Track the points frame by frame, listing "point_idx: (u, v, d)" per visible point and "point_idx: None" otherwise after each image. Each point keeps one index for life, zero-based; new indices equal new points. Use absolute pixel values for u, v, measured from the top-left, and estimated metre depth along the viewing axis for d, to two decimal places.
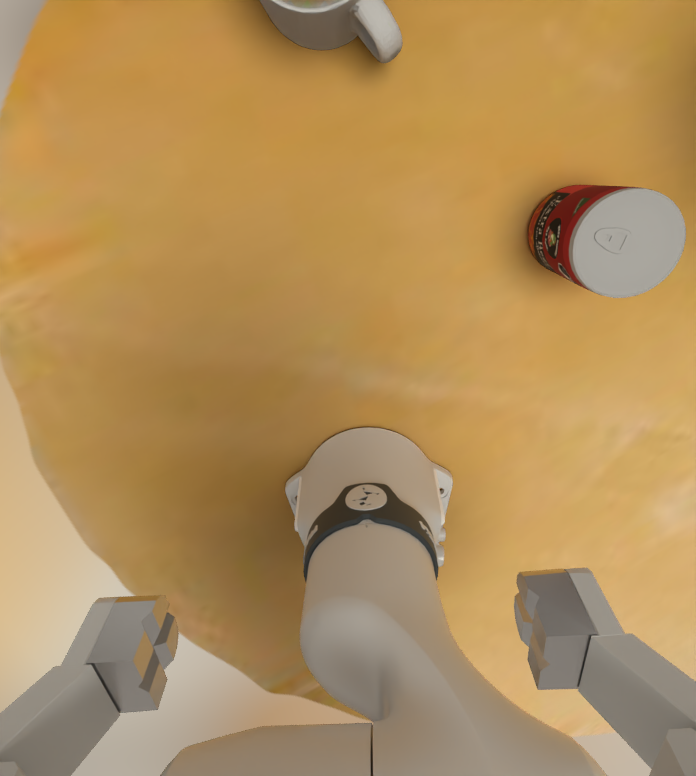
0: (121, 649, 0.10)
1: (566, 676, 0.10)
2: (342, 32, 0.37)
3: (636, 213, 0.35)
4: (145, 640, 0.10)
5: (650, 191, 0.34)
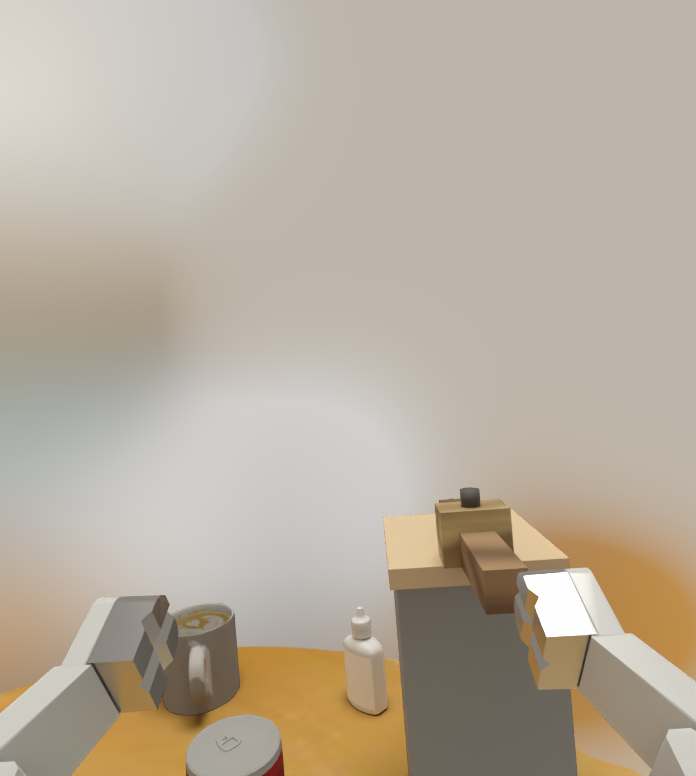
0: (121, 649, 0.10)
1: (566, 676, 0.10)
2: (185, 688, 0.63)
3: (252, 732, 0.43)
4: (145, 640, 0.10)
5: (266, 719, 0.44)
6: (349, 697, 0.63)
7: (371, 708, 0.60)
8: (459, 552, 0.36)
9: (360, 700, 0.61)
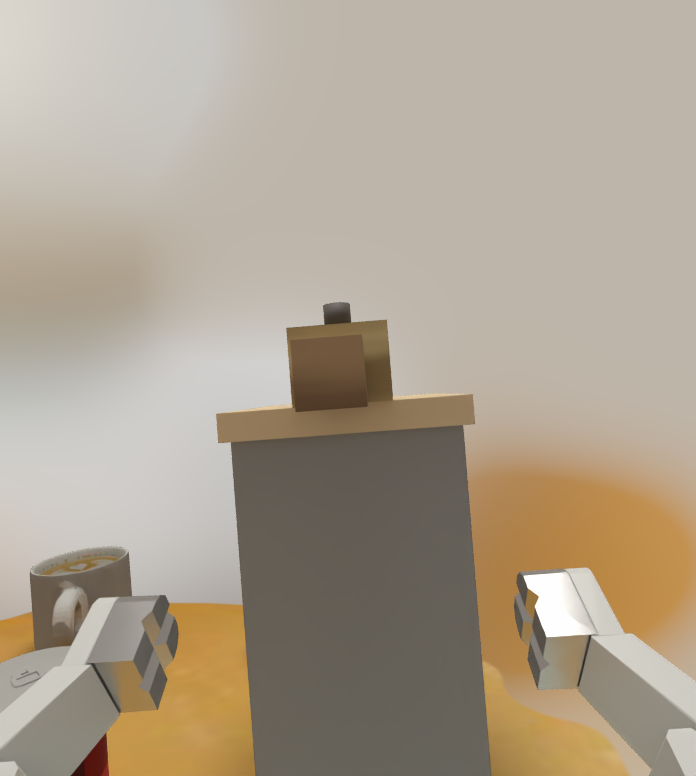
0: (121, 649, 0.10)
1: (566, 676, 0.10)
2: None
3: None
4: (145, 640, 0.10)
5: None
6: None
7: None
8: None
9: None
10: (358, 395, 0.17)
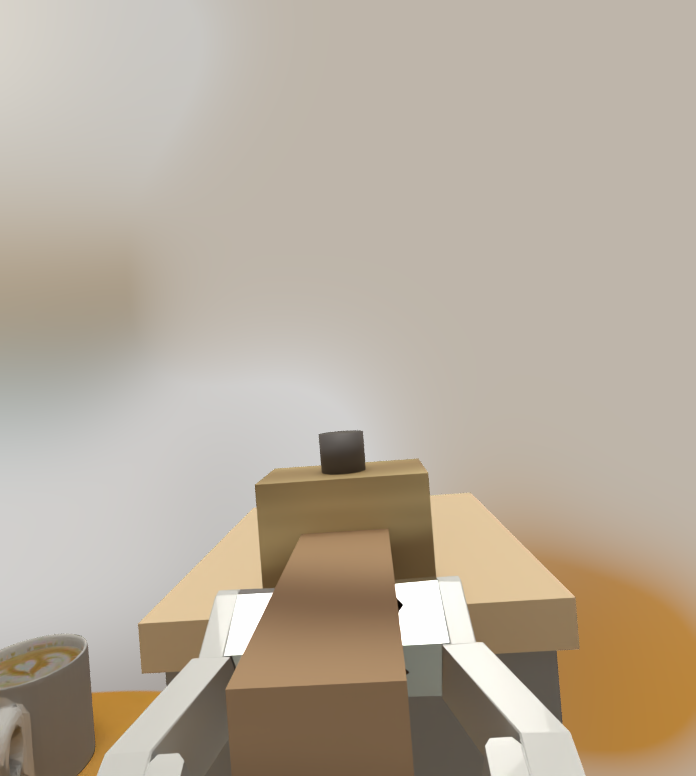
0: None
1: (428, 683, 0.10)
2: None
3: None
4: None
5: None
6: None
7: None
8: None
9: None
10: None
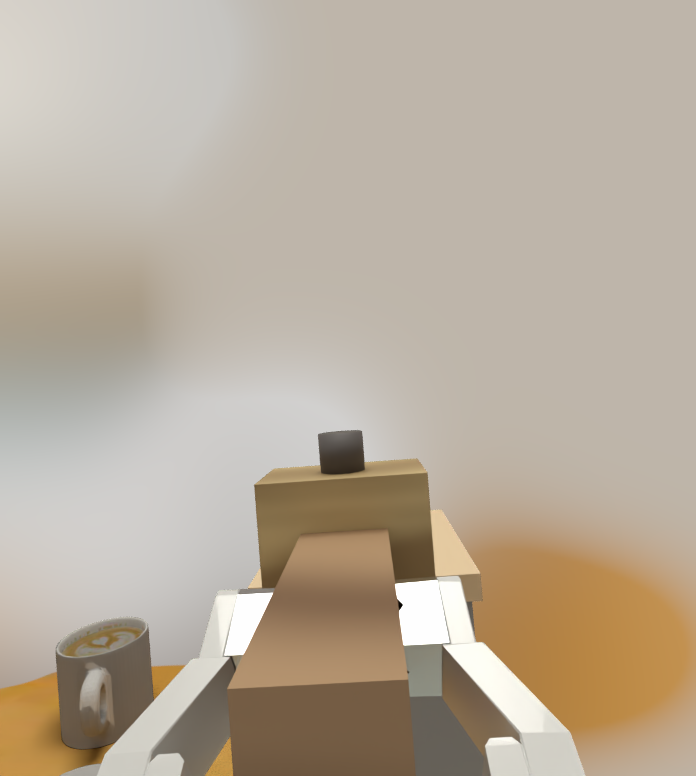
0: None
1: (428, 684, 0.10)
2: None
3: None
4: None
5: None
6: None
7: None
8: None
9: None
10: None
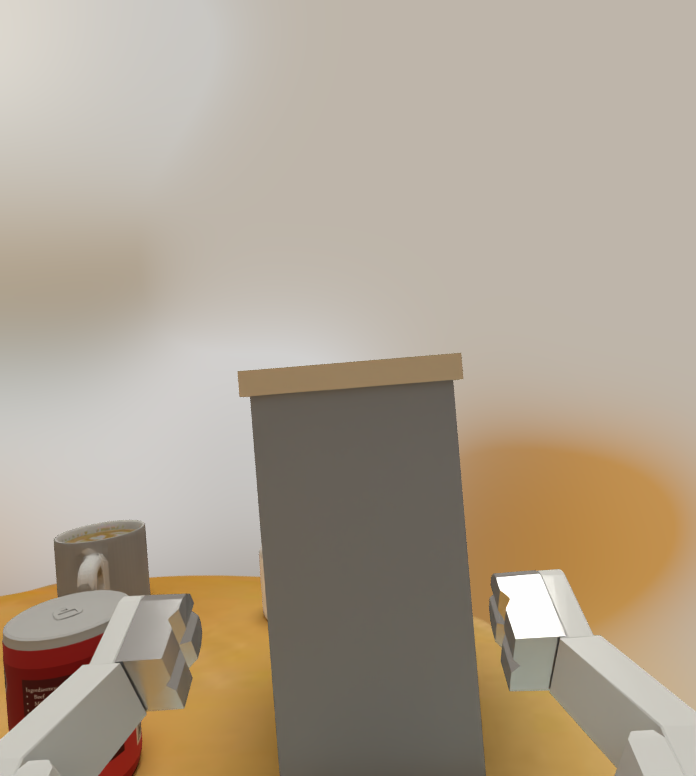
0: (149, 647, 0.10)
1: (537, 678, 0.10)
2: None
3: (101, 605, 0.36)
4: (172, 638, 0.10)
5: (122, 593, 0.37)
6: (264, 611, 0.55)
7: None
8: None
9: None
10: None
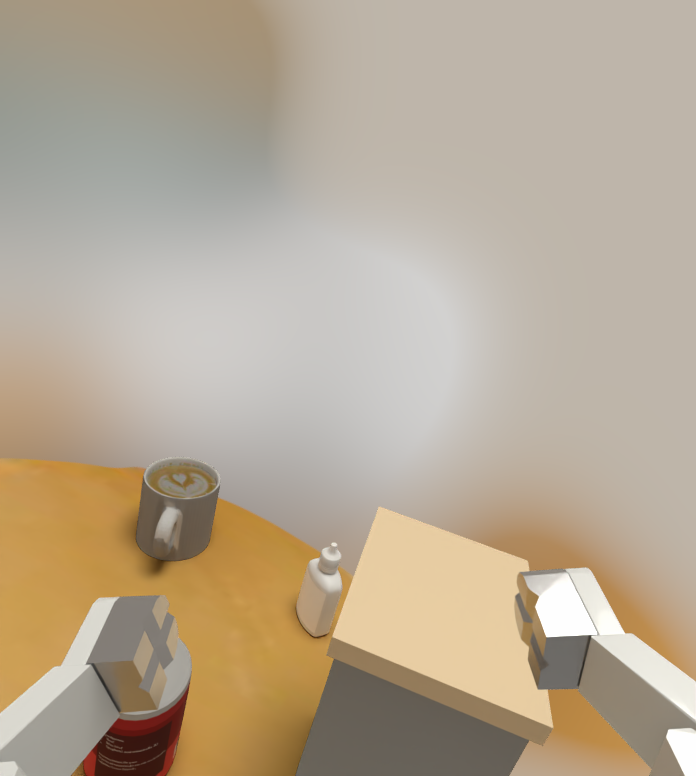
0: (121, 649, 0.10)
1: (566, 676, 0.10)
2: (154, 535, 0.65)
3: None
4: (145, 640, 0.10)
5: (186, 649, 0.43)
6: (297, 607, 0.63)
7: (311, 630, 0.60)
8: None
9: (304, 618, 0.61)
10: None
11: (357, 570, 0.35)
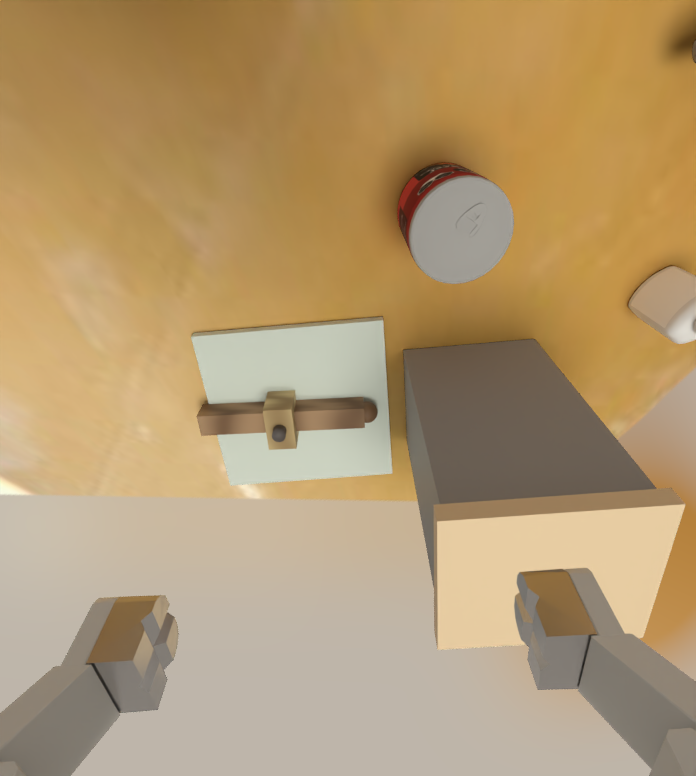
0: (121, 649, 0.10)
1: (566, 676, 0.10)
2: None
3: (484, 245, 0.38)
4: (145, 640, 0.10)
5: (500, 257, 0.38)
6: (664, 271, 0.49)
7: (633, 301, 0.50)
8: None
9: (646, 289, 0.49)
10: None
11: (539, 515, 0.31)
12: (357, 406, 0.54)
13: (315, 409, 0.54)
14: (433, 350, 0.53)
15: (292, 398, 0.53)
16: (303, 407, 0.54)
